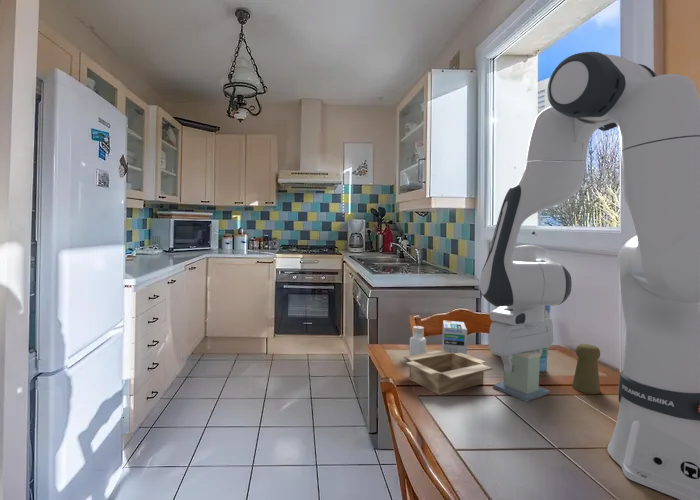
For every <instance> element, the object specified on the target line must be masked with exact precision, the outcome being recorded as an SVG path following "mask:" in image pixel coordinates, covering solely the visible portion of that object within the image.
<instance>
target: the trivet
mask: <svg viewBox="0 0 700 500" xmlns="http://www.w3.org/2000/svg"><path fill="white" fill-rule="evenodd" d="M492 388H493V389H495V390H498V391H500V392H501V393H505V394H507V395H510V396H512V397H513V398H514V397H515V398H517V399H519V400H522V401H524V402H527V401H531V400H534V399H538V398H540V397H543V396H547V395H549V394H550V390H549V389H546V388H543V387H541V386H539V389H538V391H535V392H532V393H529V394H526V393H523V392H521V391H518V390H516V389H513V388H511V387H508V386H506V385H504V381H501V382H498V383H493V385H492Z"/></svg>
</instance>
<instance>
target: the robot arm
mask: <svg viewBox="0 0 700 500" xmlns="http://www.w3.org/2000/svg"><path fill="white" fill-rule="evenodd" d="M546 92H547V93H546V94H547V100H548V102H549V104H550V106H548V107H547V108H545V109H543V110H542V111H540V112H539V113H538V115H537V116H536V117H535V119H534V123H533V126H532V130H531V132H530V133H531V134H530V136H529V140H528V147H527V153H526V161H525V166H524V170H523V173H522V175H521V177H520V179H519V181H518V182H517V184H516V185H514V186H512V187H510V188H509V189H508V190H507V192H506V194H505V196H504V199H503V202H502V205H501V207H500V212H499V215H498V217H497V221H496V225H495V229H494V233H493V236H492V240H491V244H490V249H489V251H488V255H487V258H486V260H485V263H484V265H483V268H482V271H481V274H480V278H479V291H480V294H481V296H482V297H483V298H484V299H485V300H486V301H487V302H488V303H489V304H491V305H492V306H494V307H498V308H496V309H495V308H494V309H493V310H492V311H490V314H489V319H490V320H491V321H492V322H491V324H490V326H489V333H488V334H489V336H488V348H489V351H490V353H491V354H492V355H495V356H498V357H500V358H501V361H502V363H503V370H504V371H505V372H507V373H512V372H514V366H515V365H512V362H511V359H512V355H514V354H518V353H523V352H528V351H536V352H539V353H541V354H542V351H543V348H546V347H548V348H550V347H552V346H553V343H554V324H553V321H552V319H551V313H550V314H549V313H548V311H547V310H544V309H545V306H552V307H553V306H560V305H561V304H563V303H564V302H566V301H567V300H568V298H569V297H570V295H571V291H572V286H573V285H572V284H573V283H572V276H571V274H570V272H569V271H568V269H567V268H566V267H565V266H564V265H563V264H561V263H557V262H555V261H553V260H552V259H550V258H549V257H548V256H547V254H546V250H545V248H544V247H543V246H540V245H533V244H524V245H516V243H517V239H518V237H519V233H520V229H521V226H522V225H523V224H524V222H525V221H526V220H527V219H529V217H532V216H533V215H535V214H537V213H539V212H542V211H545V210H546V209H550V208H553V207H556V206H558V205H561V204H563V203H565V202H566V201H568V200H570V199H571V198H573V196H575V195H576V193H578V192H579V190H580V189H581V187H582V184H583V182H584V179H585V174H586V165H587V156H588V149H589V148H588V147H589V143H590V139H591V137H592V136H593V134H594V133H595V132H596V131H597V130H600V131H603V132H606V131H609V130H613V129H614V128H618V132H619V139H620V140H619V141H620V159H621V160H620V161H621V172H622V173H621V174H622V188H623V198H624V201H625V202H626V205H627V206H628V210H629V211H630V215H631V218H632V222H633V226H634V229H635V233H636V235H635V236H633V237H632V238H630V239H629V240H628V241H626V242H625V244H623V245H622V246H621V248H620V249H619V252H618V254H617V266H618V267H617V268H618V270H619V278H620V279H619V282H620V294H621V302H622V309H623V311H622V312H623V317H624V318H623V319H624V343H623V344H624V346H623V348H624V349H623V364H622V365H623V366H622V367H623V368H622V369H623V370H621V371H620V373H619V380H618V381H619V382H618V389H617V391H618V402H619V409H618V414H617V419H616V423H615V427H614V430H613V434H612V436H611V439H610V441H609V442H608V445H607V452H608V454H609V456H610V457H611V458H612V459H613V460H614V462H616V463H617V464H618V465H619V466H620V467H621V470H622V472H623V475H624V476H625V477H626V478H627V479H629V480H630V481H633V482H635V483H637V484H641V486H642V485H643V486H645V487H647V488H650V489H653V490H655V491H657V492H660V493H662V494H665V495H668V496H670V497H673V498H675V499H678V500H700V96H699V95H700V94H699V92H698V90H697V87H696V85H695V83H694V81H693V80H692V79H690V78H689V77H688V76H686V75H683V74H679V73H678V74H676V73H666V74H660V75H657V73H655V71H654V70H652V69H651V68H650V67H648V66H647V65H644V64H641V63H637V62H635V61H632V60H630V59H628V58H625V57H623V56H619V55H615V54H614V55H613V54H607V53H606V54H605V53H602V52H599V51H583V52H578V53H574V54H572V55H569V56H567V57H566V58H564V59H563V60H562V61H560V63H558V65H557V66H556V67H555V68H554V70H553V71H552V74H551V75H550V77H549V80H548V83H547V89H546ZM540 357H541V356H540ZM504 371H503V372H504Z"/></svg>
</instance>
